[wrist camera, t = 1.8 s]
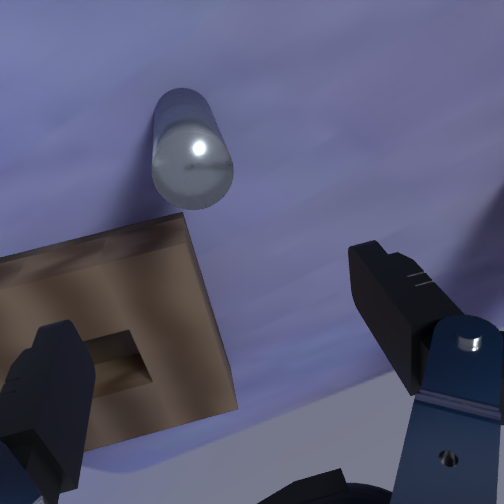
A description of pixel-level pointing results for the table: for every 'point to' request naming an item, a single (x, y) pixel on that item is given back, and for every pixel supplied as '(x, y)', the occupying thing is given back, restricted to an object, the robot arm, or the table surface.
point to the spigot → (189, 152)
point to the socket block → (125, 325)
